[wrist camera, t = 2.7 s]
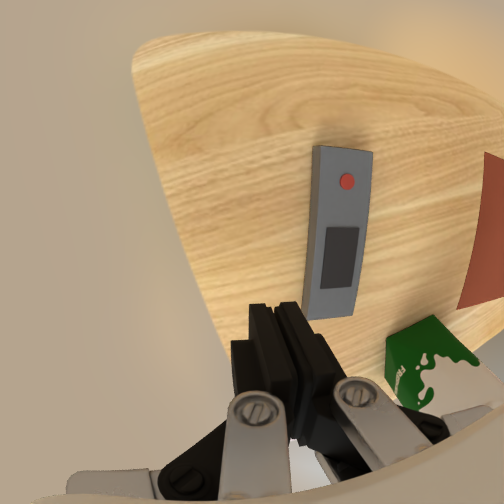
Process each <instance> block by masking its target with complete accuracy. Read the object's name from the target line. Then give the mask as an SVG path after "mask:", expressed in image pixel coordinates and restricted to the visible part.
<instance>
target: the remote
mask: <svg viewBox="0 0 504 504" xmlns="http://www.w3.org/2000/svg"><path fill="white" fill-rule="evenodd" d="M372 162H373V152H371V151H364V150H356V149H348V148H340V147H331V146H313V155H312V181H311V200H310V217H309V231H308V244H307V257H306V268H305V279H304V289H303V299H302V308H301V311H302V312H303V314H304V316H305V318H306V320H318V319H327V318H336V317H345V316H352V315H353V311H354V306H355V301H356V296H357V291H358V285H359V279H360V273H361V267H362V261H363V254H364V247H365V240H366V232H367V223H368V214H369V204H370V193H371V179H372Z"/></svg>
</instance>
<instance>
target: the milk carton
mask: <svg viewBox="0 0 504 504" xmlns="http://www.w3.org/2000/svg"><path fill="white" fill-rule="evenodd" d="M385 379H386V380H387V382H388V383H389V385H390V387H391V388H392V390H393V392H394V393H395V395H396V396H397V398H398V399H399V401H400V402H401V404H402V405H403V407H406V408H409V409H413V410H416V411H420V412H423V413H427V414H431V415H434V416H436V417H439V418H440V417H441V416H442V415H445V414H449V413H453V412H457V411H461V410H465V409H468V408H472V407H475V406H479V405H486V406H489V407H491V408H492V409H495V408H497V407H499V406H500V405H502V404H503V403H504V383H503V382H502V381H501V380H499V378H498V377H496V375H495V374H494V373H493V372H492V371H490V370H489V369H488V368H487V367H486V366H485V365H484V364H483V363H482V362H481V361H480V360H479V359H478V358H477V357H476V356H475V355H474V354H473V353H472V352H471V351H470V350H468V349H467V348H466V347H465V346H464V345H463V344H462V343H461V342H460V341H459V340H458V339H457V338H456V337H455V336H454V335H453V334H452V333H451V332H450V331H449V330H448V329H447V328H446V327H445V326H444V325H443V324H442V323H441V322H440V321H439V320H438V319H437V318H436V317H435V315H431V316H429V317H428V318H426V319H424V320H422V321H420V322H418V323H416V324H414V325H412V326H410V327H408V328H406V329H404V330H402V331H400V332H398V333H396V334H394V335H392V336H390V337H387V338H386V361H385Z"/></svg>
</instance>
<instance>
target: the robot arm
mask: <svg viewBox="0 0 504 504" xmlns="http://www.w3.org/2000/svg"><path fill="white" fill-rule="evenodd" d="M231 364H232V377H233V386H234V393H235V397H234V399H233V400H232V401H231V402H230V404H229V407H228V412H227V419H226V420H225V421H224V422H223V423H222V424H220V425H219V426H218V427H217V428H215V429H214V430H213V431H212V432H210V433H209V434H208V435H207V436H205V437H204V438H203V439H201V440H200V441H199V442H198V443H196V444H195V445H194V446H192V447H191V448H190V449H188V450H187V451H186V452H184V453H183V454H181V455H180V456H179V457H177V458H176V459H175V460H173V461H172V462H170V463H169V464H167V465H166V466H165V467H164V468H163V469H162V470H154V471H149V469H148V468H146V469H133V470H115V471H114V470H112V471H80V472H76V473H75V474H73V475H71V477H70V478H69V479H68V480H67V485H66V494H63V495H53V496H48V497H43V498H40V499H37V500H35V501H33V502H31V503H30V504H504V403H503V404H502V405H500V406H499V407H497V408H495V409H492V408H491V407H489V406H486V405H479V406H475V407H472V408H468V409H465V410H461V411H457V412H453V413H449V414H445V415H442V416H441V417H440V418H439V417H436V416H434V415H431V414H427V413H423V412H420V411H416V410H413V409H409V408H406V407H402V406H399V405H396V404H395V403H394V402H393V401H392V400H391V399H390V398H389V397H388V395H387V394H386V393H385V392H384V391H383V390H382V389H381V388H380V387H379V386H378V385H377V384H376V383H375V382H373V381H372V380H369V379H367V378H363V377H348V378H347V376H346V374H345V373H344V371H343V369H342V368H341V366H340V364H339V363H338V361H337V359H336V357H335V356H334V354H333V352H332V351H331V349H330V347H329V346H328V344H327V342H326V341H325V339H324V337H323V336H322V335H321V334H319V333H318V334H314V332H313V330H312V329H311V327H310V325H309V323H308V322H307V320H306V318H305V316H304V315H303V313H302V311H301V309H300V308H299V306H298V304H297V302H296V301H294V302H281V303H280V305H279V306H277V307H275V308H274V313H273V310H272V308H271V307H266V304H265V303H261V304H249V340H232V341H231ZM290 438H292V439H297V441H298V444H299V446H305V445H307V446H308V448H310V449H313V450H315V456H316V458H317V460H318V462H319V464H320V465H321V467H322V469H323V470H324V472H325V474H326V476H327V477H328V479H329V480H330V482H331V485H327V486H323V487H319V488H315V489H310V490H306V491H300V492H295V493H292V488H291V487H292V486H291V473H290V461H289V448H288V447H289V443H290Z"/></svg>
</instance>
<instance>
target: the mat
mask: <svg viewBox="0 0 504 504" xmlns="http://www.w3.org/2000/svg"><path fill="white" fill-rule="evenodd" d="M501 297H504V160H503V159H501V158H499V157H496V156H494V155H492V154H489V153H487V152H485V154H484V174H483V187H482V196H481V205H480V212H479V219H478V225H477V231H476V236H475V241H474V246H473V251H472V256H471V260H470V264H469V268H468V272H467V276H466V280H465V283H464V287H463V290H462V293H461V297H460V300H459V303H458V306H457V309H456V310H458V309H462V308H466V307H470V306H473V305H477V304H480V303H484V302H487V301H491V300H494V299H497V298H501Z"/></svg>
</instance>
